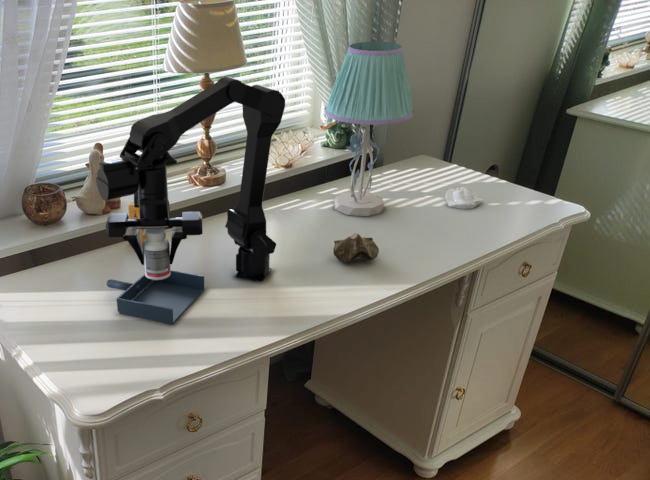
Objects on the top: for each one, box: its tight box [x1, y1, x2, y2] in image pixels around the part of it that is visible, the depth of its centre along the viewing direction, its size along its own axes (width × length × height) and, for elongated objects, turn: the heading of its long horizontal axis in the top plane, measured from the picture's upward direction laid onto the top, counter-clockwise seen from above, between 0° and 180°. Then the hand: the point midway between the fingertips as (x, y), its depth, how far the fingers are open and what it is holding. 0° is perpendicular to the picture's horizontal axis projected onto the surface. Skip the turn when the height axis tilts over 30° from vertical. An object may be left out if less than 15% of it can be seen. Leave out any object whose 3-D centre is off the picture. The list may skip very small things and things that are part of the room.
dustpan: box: [106, 269, 205, 326], centre depth 150 cm, size 19×16×3 cm
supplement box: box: [127, 201, 146, 247], centre depth 173 cm, size 3×3×10 cm
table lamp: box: [324, 41, 415, 217], centre depth 180 cm, size 22×22×40 cm
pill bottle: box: [142, 228, 172, 281], centre depth 144 cm, size 5×5×10 cm
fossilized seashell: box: [332, 232, 380, 263], centre depth 163 cm, size 8×7×10 cm
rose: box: [444, 186, 484, 210], centre depth 191 cm, size 10×4×10 cm
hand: (157, 263), depth 145 cm, fingers closed on pill bottle, 5 cm apart
